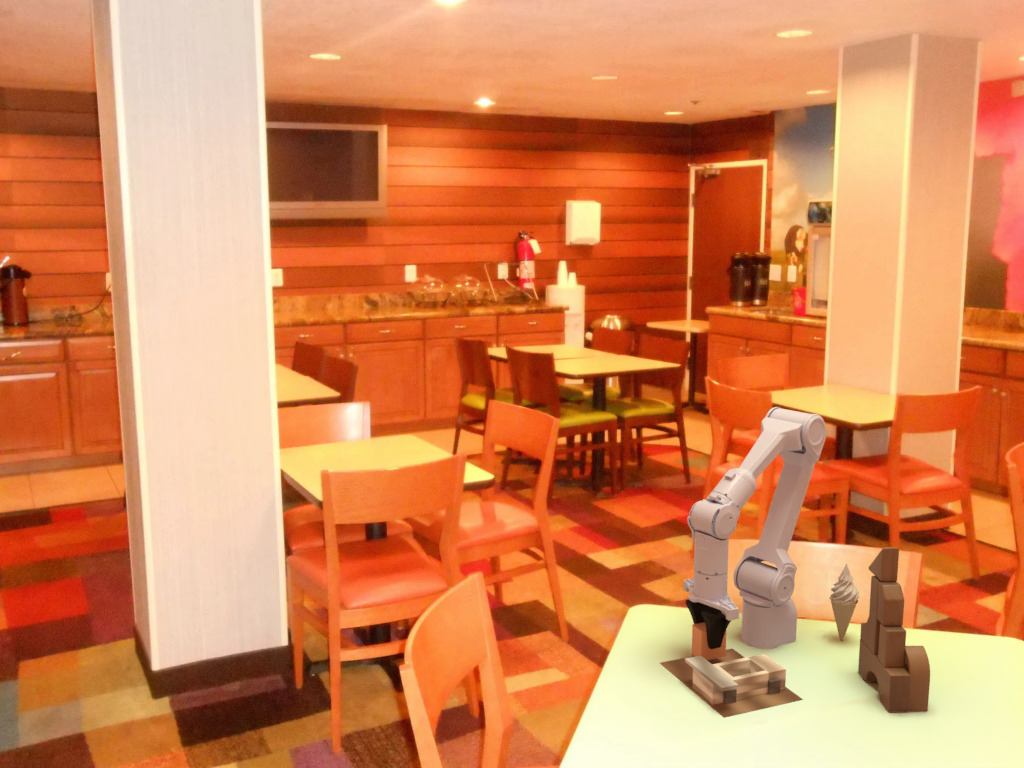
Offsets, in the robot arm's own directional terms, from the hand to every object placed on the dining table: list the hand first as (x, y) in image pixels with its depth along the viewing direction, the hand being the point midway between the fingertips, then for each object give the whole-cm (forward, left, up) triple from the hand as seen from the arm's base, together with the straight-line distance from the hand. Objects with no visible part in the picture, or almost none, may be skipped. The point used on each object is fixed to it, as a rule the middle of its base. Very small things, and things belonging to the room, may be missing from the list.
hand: (708, 643), depth 166 cm
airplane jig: (+1, +7, -5) cm, 8 cm away
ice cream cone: (-29, 0, -5) cm, 29 cm away
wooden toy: (-24, +18, -5) cm, 30 cm away
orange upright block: (0, 0, -2) cm, 2 cm away
